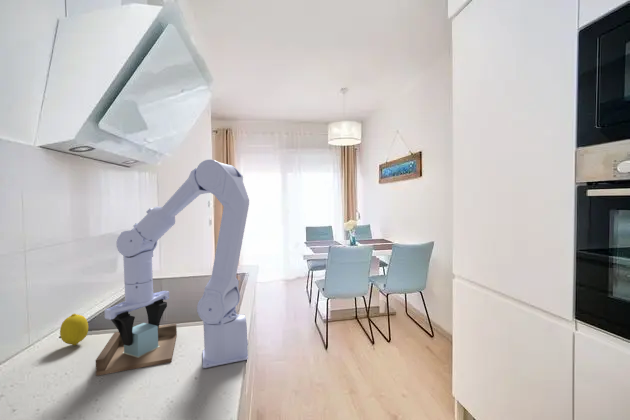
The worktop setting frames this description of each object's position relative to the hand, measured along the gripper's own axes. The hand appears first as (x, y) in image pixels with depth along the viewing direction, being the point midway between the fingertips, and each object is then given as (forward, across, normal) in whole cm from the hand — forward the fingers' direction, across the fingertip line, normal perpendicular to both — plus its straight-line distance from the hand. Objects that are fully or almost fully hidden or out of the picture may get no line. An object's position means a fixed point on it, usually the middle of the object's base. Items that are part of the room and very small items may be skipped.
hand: (141, 338), depth 70 cm
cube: (+3, 0, 0) cm, 3 cm away
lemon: (+4, +4, -19) cm, 20 cm away
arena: (+3, 0, 0) cm, 3 cm away
